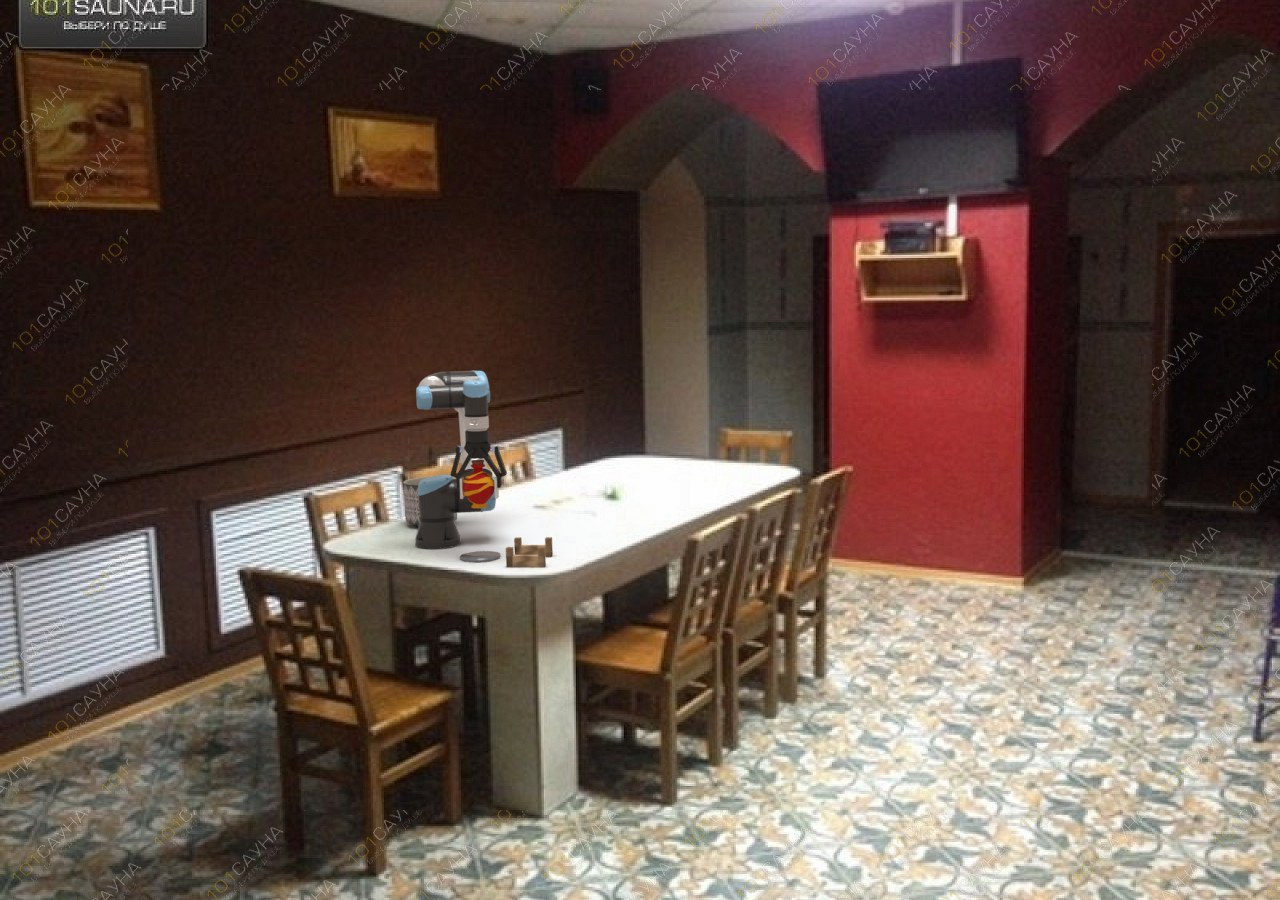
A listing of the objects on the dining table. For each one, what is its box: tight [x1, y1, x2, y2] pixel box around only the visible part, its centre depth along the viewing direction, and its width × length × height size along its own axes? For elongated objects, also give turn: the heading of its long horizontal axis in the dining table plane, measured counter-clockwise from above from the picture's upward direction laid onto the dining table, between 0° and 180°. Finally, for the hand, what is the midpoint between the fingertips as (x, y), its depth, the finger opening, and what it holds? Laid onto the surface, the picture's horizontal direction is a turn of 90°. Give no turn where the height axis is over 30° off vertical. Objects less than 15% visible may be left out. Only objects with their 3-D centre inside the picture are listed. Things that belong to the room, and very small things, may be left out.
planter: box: [402, 476, 458, 527], centre depth 430 cm, size 19×19×16 cm
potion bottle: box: [463, 460, 495, 508], centre depth 372 cm, size 10×10×15 cm
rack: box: [505, 536, 554, 568], centre depth 369 cm, size 12×16×6 cm
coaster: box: [459, 550, 502, 563], centre depth 375 cm, size 13×13×1 cm
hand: (479, 498), depth 373 cm, fingers closed on potion bottle, 10 cm apart
